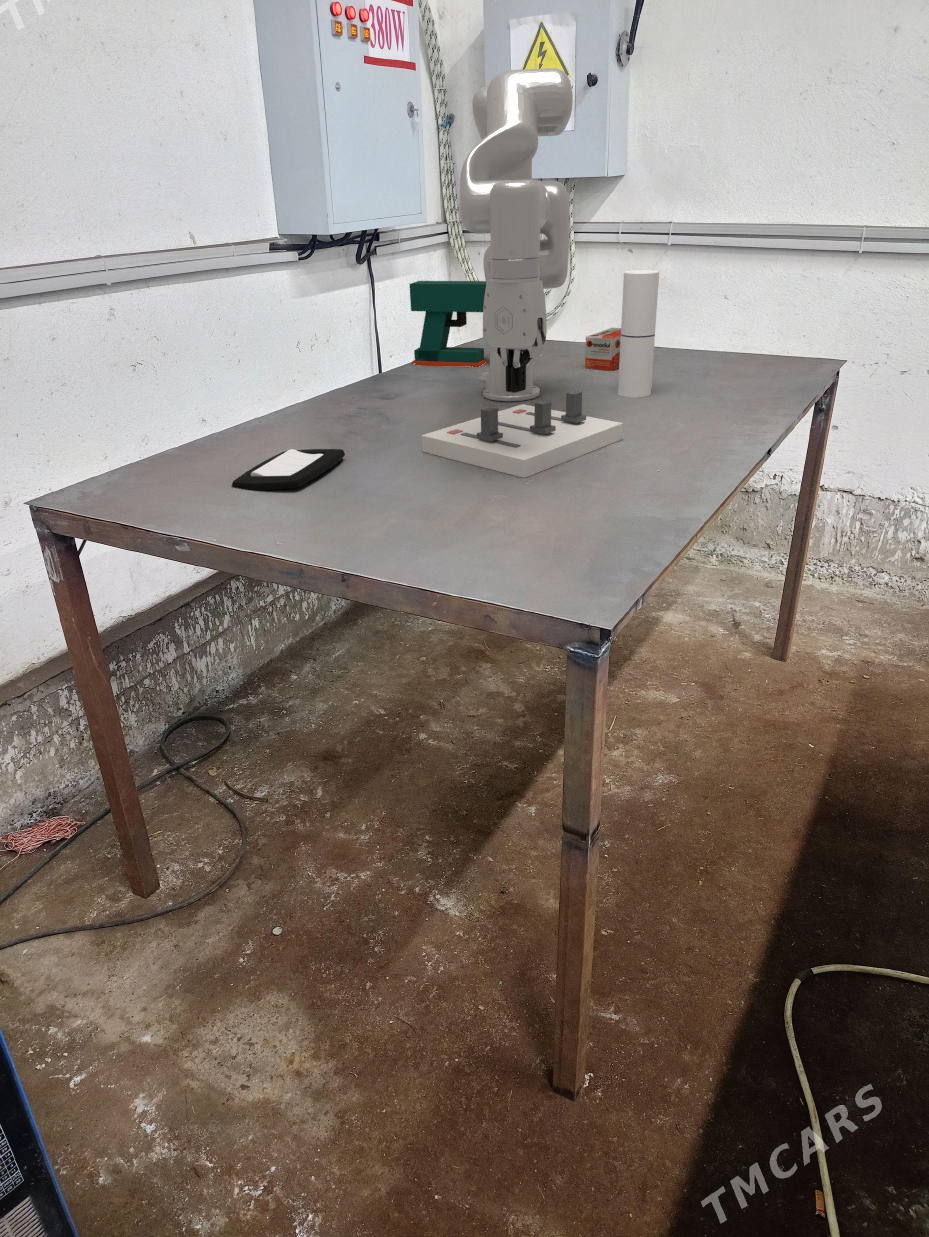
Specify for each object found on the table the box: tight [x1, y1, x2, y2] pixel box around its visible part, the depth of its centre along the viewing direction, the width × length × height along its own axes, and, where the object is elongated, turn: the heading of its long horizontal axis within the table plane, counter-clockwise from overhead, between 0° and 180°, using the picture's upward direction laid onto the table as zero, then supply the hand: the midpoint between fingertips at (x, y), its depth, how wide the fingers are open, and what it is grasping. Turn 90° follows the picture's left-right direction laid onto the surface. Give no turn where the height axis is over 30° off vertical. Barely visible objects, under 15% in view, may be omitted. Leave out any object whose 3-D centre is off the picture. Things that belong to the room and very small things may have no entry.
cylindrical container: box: [617, 269, 660, 399], centre depth 182 cm, size 7×7×25 cm
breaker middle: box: [530, 400, 556, 434], centre depth 150 cm, size 4×3×5 cm
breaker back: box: [561, 390, 587, 423], centre depth 156 cm, size 4×3×5 cm
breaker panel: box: [421, 403, 624, 479], centre depth 155 cm, size 24×28×3 cm
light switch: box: [231, 448, 346, 491], centre depth 146 cm, size 20×3×14 cm
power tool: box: [409, 280, 488, 367], centre depth 217 cm, size 32×7×20 cm, turn 71°
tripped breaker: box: [477, 406, 503, 441], centre depth 147 cm, size 4×3×5 cm
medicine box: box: [584, 327, 621, 372], centre depth 215 cm, size 15×8×8 cm, turn 145°
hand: (515, 390), depth 140 cm, fingers closed
